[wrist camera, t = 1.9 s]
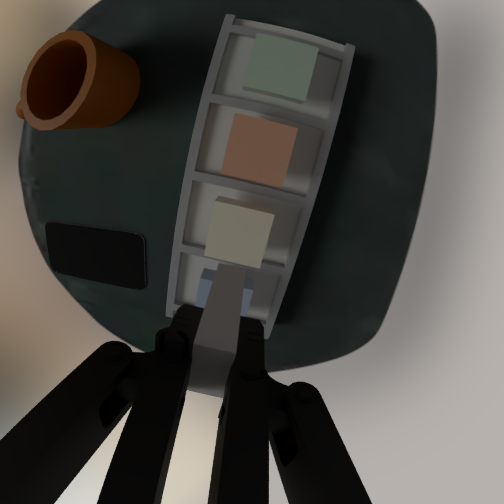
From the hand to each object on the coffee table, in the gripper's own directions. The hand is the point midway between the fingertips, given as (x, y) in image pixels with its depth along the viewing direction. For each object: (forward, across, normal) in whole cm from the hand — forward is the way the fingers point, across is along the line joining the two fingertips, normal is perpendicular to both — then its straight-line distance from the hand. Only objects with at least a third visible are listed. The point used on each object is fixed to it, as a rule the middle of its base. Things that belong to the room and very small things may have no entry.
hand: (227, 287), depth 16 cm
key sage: (+10, 0, +14) cm, 17 cm away
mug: (+13, -19, +11) cm, 26 cm away
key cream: (+10, 0, 0) cm, 10 cm away
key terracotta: (+10, 0, +7) cm, 12 cm away
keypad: (+13, 0, +4) cm, 14 cm away
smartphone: (+14, -17, -8) cm, 23 cm away
